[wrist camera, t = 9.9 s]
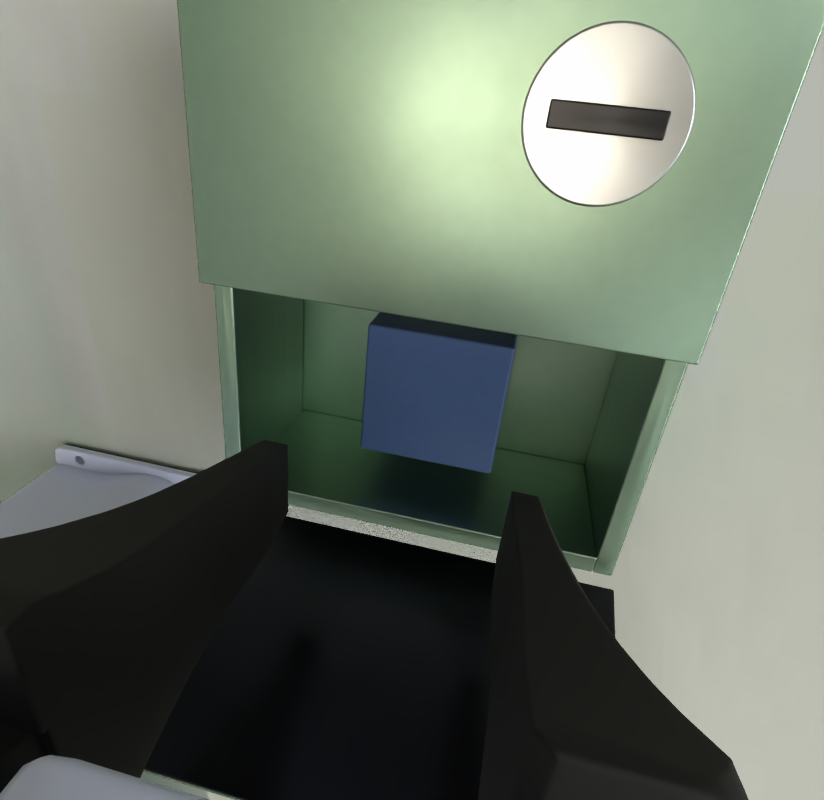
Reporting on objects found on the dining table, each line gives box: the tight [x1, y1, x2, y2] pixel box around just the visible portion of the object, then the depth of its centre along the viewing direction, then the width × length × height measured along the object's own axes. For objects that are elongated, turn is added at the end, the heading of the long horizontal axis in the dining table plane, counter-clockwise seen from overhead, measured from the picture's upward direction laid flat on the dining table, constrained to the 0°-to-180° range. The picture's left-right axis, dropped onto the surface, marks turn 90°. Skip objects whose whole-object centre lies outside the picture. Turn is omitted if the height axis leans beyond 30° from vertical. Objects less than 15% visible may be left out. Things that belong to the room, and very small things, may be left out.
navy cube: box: [361, 312, 517, 473], centre depth 19 cm, size 5×5×4 cm
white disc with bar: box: [521, 21, 696, 207], centre depth 11 cm, size 10×3×2 cm, turn 84°
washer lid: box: [143, 516, 615, 800], centre depth 15 cm, size 8×13×1 cm
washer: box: [177, 0, 824, 575], centre depth 17 cm, size 15×13×7 cm
